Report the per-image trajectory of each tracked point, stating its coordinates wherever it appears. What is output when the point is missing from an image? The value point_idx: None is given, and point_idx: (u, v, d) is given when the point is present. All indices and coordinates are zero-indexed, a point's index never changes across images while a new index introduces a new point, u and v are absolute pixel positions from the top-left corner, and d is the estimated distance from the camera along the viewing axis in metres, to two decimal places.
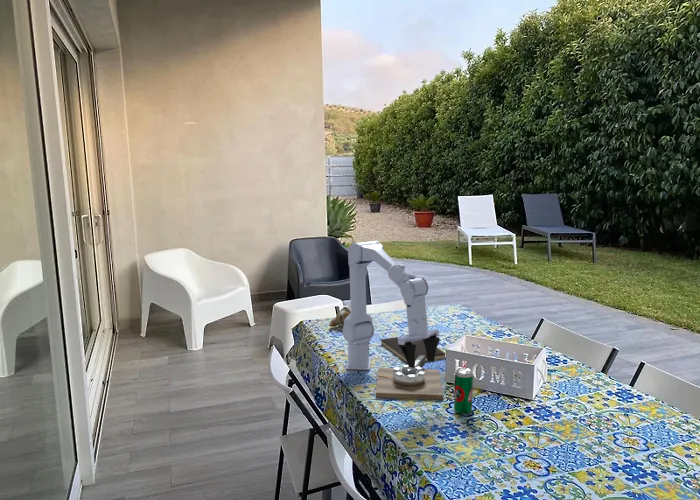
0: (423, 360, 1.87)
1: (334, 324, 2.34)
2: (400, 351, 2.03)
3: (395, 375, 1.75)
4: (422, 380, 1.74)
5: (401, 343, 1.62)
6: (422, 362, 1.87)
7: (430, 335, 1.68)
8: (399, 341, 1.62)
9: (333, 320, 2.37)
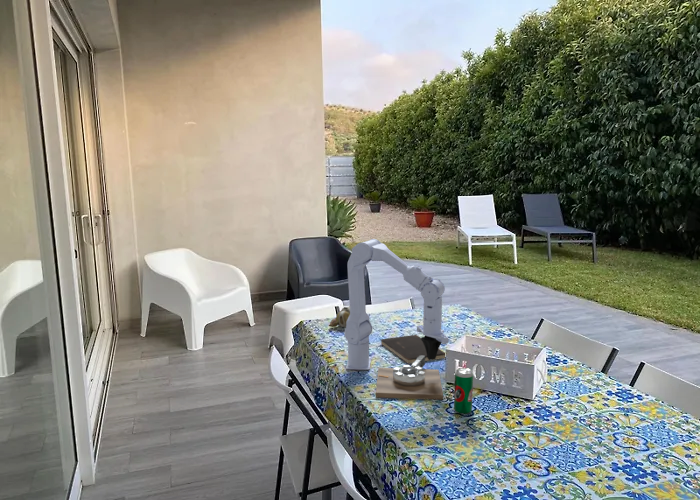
0: (423, 360, 1.87)
1: (334, 324, 2.34)
2: (400, 351, 2.03)
3: (395, 375, 1.75)
4: (422, 380, 1.74)
5: (447, 342, 1.73)
6: (422, 362, 1.87)
7: None
8: (445, 341, 1.72)
9: (333, 320, 2.37)
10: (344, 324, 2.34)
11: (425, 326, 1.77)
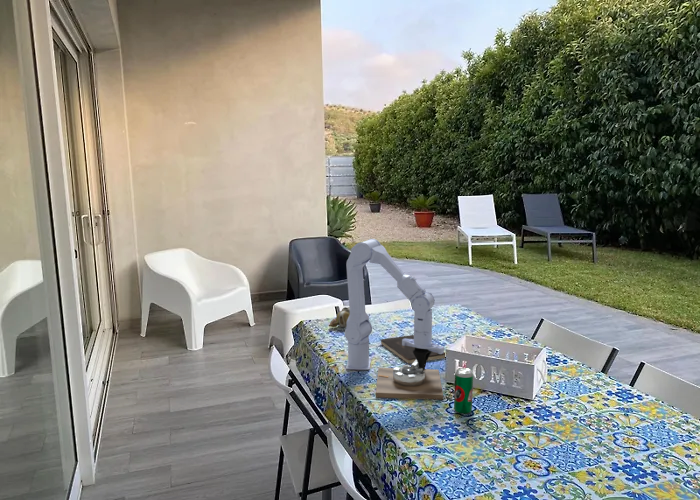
0: None
1: (334, 324, 2.33)
2: (400, 351, 2.03)
3: (395, 375, 1.75)
4: (422, 380, 1.74)
5: (443, 351, 1.78)
6: None
7: None
8: (442, 351, 1.77)
9: (333, 320, 2.36)
10: (344, 324, 2.34)
11: (419, 339, 1.79)
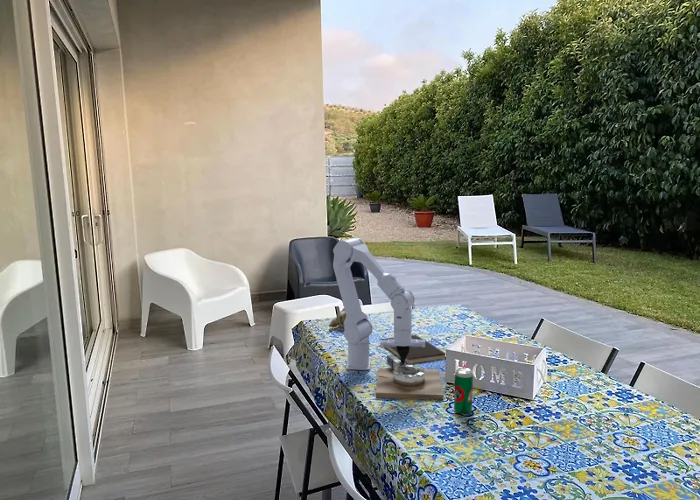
0: None
1: (334, 324, 2.33)
2: None
3: (406, 378, 1.72)
4: None
5: None
6: None
7: None
8: (424, 343, 1.83)
9: (333, 320, 2.36)
10: None
11: (404, 337, 1.80)
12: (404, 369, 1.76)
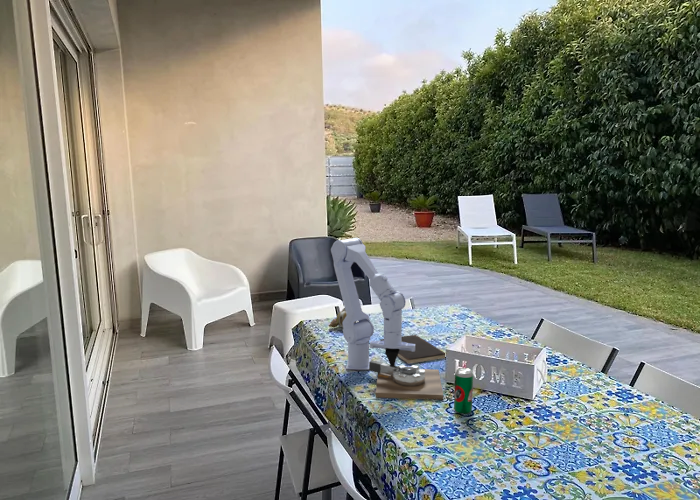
0: None
1: (334, 324, 2.33)
2: (400, 351, 2.03)
3: (415, 378, 1.72)
4: None
5: None
6: None
7: (379, 346, 1.83)
8: (414, 348, 1.79)
9: (333, 320, 2.36)
10: None
11: (391, 339, 1.78)
12: (405, 370, 1.76)
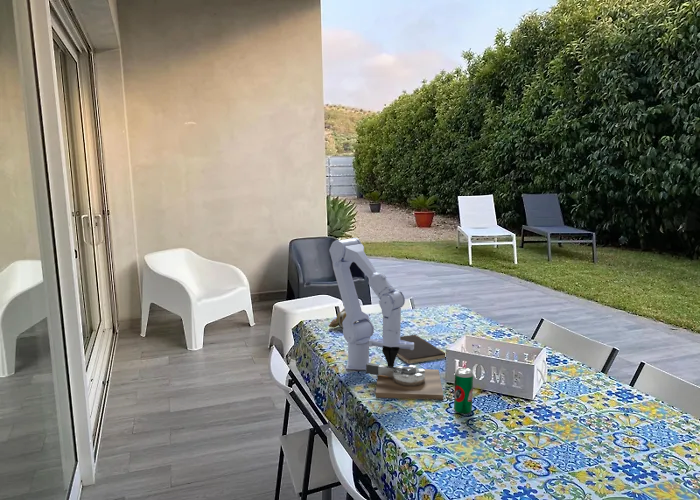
0: None
1: (334, 325, 2.33)
2: (400, 351, 2.03)
3: (418, 378, 1.73)
4: None
5: (413, 347, 1.80)
6: None
7: (378, 344, 1.83)
8: (413, 346, 1.80)
9: (333, 320, 2.36)
10: None
11: (390, 338, 1.78)
12: (406, 370, 1.75)
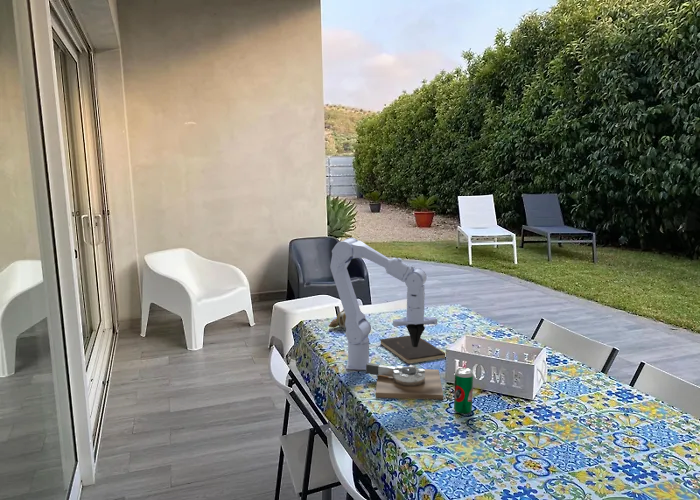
0: None
1: (334, 325, 2.33)
2: (400, 351, 2.03)
3: (418, 378, 1.73)
4: None
5: None
6: None
7: None
8: None
9: (333, 321, 2.36)
10: (344, 325, 2.33)
11: (418, 315, 1.81)
12: (406, 370, 1.75)
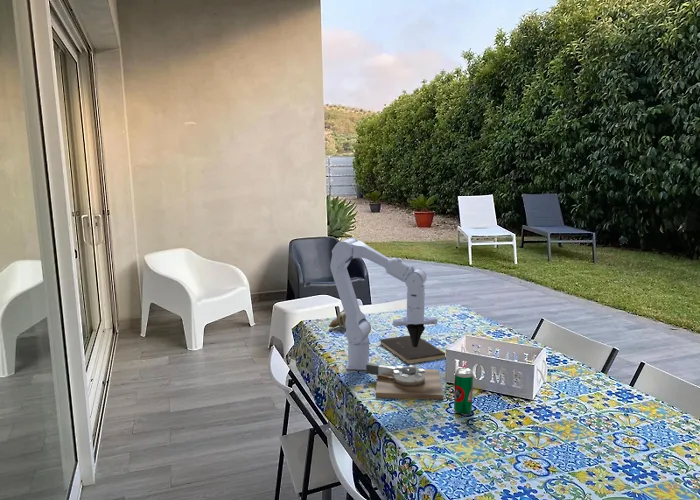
0: None
1: (334, 325, 2.33)
2: (400, 351, 2.03)
3: (418, 378, 1.73)
4: None
5: None
6: None
7: None
8: None
9: (333, 321, 2.36)
10: (344, 325, 2.33)
11: (418, 315, 1.81)
12: (406, 370, 1.75)
